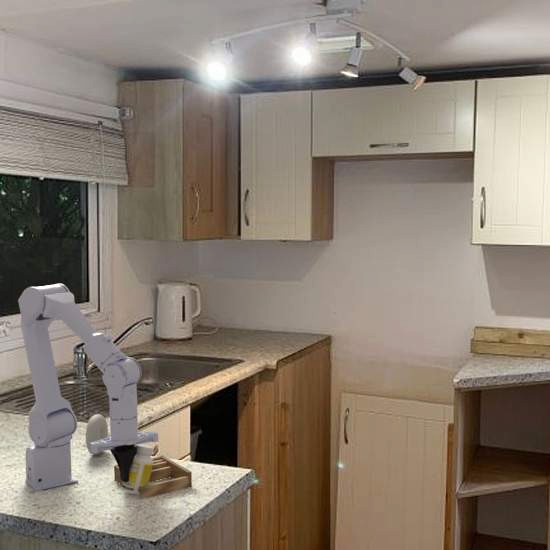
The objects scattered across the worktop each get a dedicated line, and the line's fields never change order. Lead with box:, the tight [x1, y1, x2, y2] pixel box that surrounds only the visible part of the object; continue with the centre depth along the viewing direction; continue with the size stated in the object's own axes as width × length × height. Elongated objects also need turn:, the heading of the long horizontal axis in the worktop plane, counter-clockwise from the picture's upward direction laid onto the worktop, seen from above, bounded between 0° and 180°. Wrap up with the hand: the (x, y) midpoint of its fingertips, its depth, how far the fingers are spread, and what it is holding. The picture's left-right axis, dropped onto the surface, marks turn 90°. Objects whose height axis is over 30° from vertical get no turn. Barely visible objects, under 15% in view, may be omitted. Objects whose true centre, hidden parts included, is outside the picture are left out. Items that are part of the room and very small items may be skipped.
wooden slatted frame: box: [113, 455, 193, 500], centre depth 166 cm, size 12×14×3 cm
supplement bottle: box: [121, 443, 154, 495], centre depth 160 cm, size 5×5×10 cm
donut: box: [85, 413, 109, 456], centre depth 186 cm, size 10×4×10 cm, turn 175°
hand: (126, 480), depth 158 cm, fingers closed, pressing on supplement bottle
